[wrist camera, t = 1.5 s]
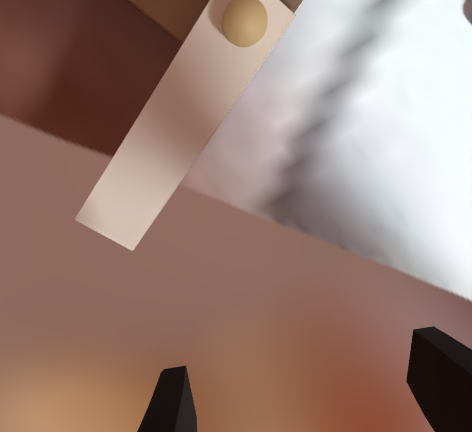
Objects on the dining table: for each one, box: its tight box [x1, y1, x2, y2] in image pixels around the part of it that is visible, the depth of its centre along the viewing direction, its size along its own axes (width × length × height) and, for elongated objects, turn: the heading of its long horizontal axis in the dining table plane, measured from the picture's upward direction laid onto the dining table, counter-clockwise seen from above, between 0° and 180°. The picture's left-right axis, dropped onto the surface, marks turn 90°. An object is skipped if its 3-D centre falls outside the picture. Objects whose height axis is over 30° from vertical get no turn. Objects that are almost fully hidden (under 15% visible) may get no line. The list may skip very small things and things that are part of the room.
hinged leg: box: [75, 0, 296, 251], centre depth 13 cm, size 10×2×3 cm, turn 143°
